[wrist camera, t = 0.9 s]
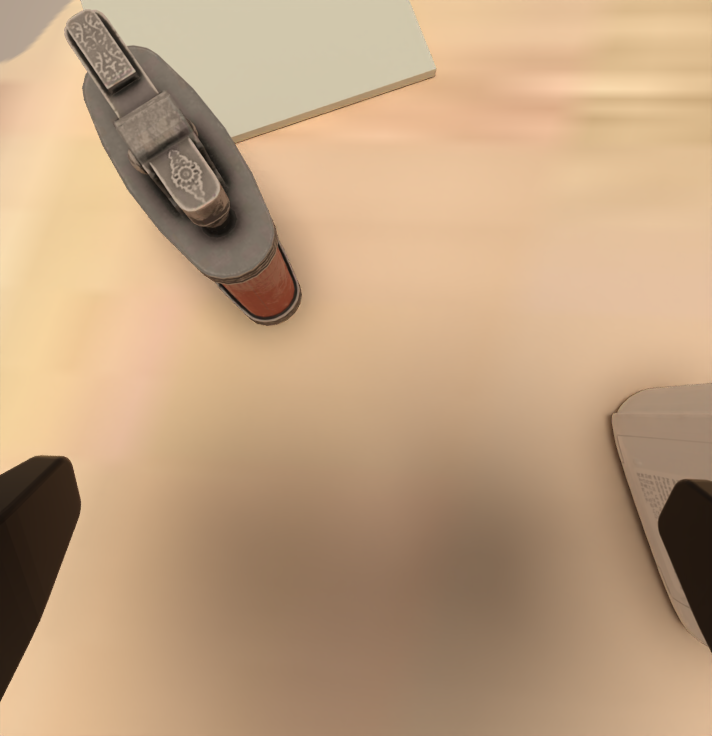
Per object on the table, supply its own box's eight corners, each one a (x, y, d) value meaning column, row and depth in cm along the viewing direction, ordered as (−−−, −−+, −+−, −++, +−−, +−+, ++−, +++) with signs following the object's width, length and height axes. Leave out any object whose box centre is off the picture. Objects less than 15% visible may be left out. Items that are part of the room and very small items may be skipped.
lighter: (319, 298, 22) (289, 198, 12) (254, 341, 22) (169, 277, 12) (218, 152, 23) (112, -55, 13) (155, 193, 23) (-4, 15, 13)
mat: (140, 174, 23) (135, 169, 22) (86, 9, 23) (80, -1, 23) (434, 76, 23) (436, 68, 23) (371, -84, 24) (371, -94, 23)
